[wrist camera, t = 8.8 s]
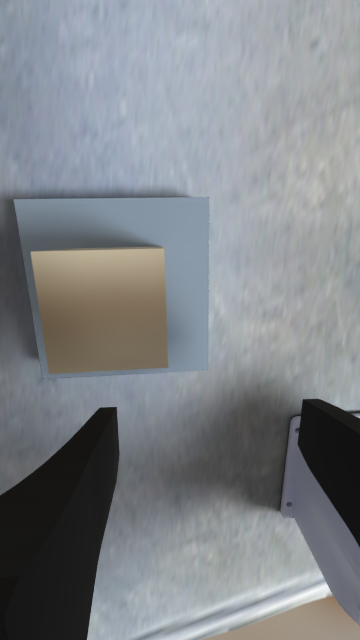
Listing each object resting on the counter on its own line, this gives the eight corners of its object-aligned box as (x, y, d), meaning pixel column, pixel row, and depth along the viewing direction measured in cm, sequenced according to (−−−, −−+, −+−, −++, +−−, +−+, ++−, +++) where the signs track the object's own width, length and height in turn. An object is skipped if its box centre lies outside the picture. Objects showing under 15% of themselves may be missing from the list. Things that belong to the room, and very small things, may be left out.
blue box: (200, 352, 21) (208, 370, 18) (58, 359, 20) (42, 379, 17) (200, 204, 18) (208, 197, 15) (36, 206, 18) (13, 199, 15)
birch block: (164, 325, 17) (168, 367, 11) (85, 328, 17) (48, 374, 11) (160, 246, 16) (164, 248, 10) (77, 248, 16) (30, 251, 10)
